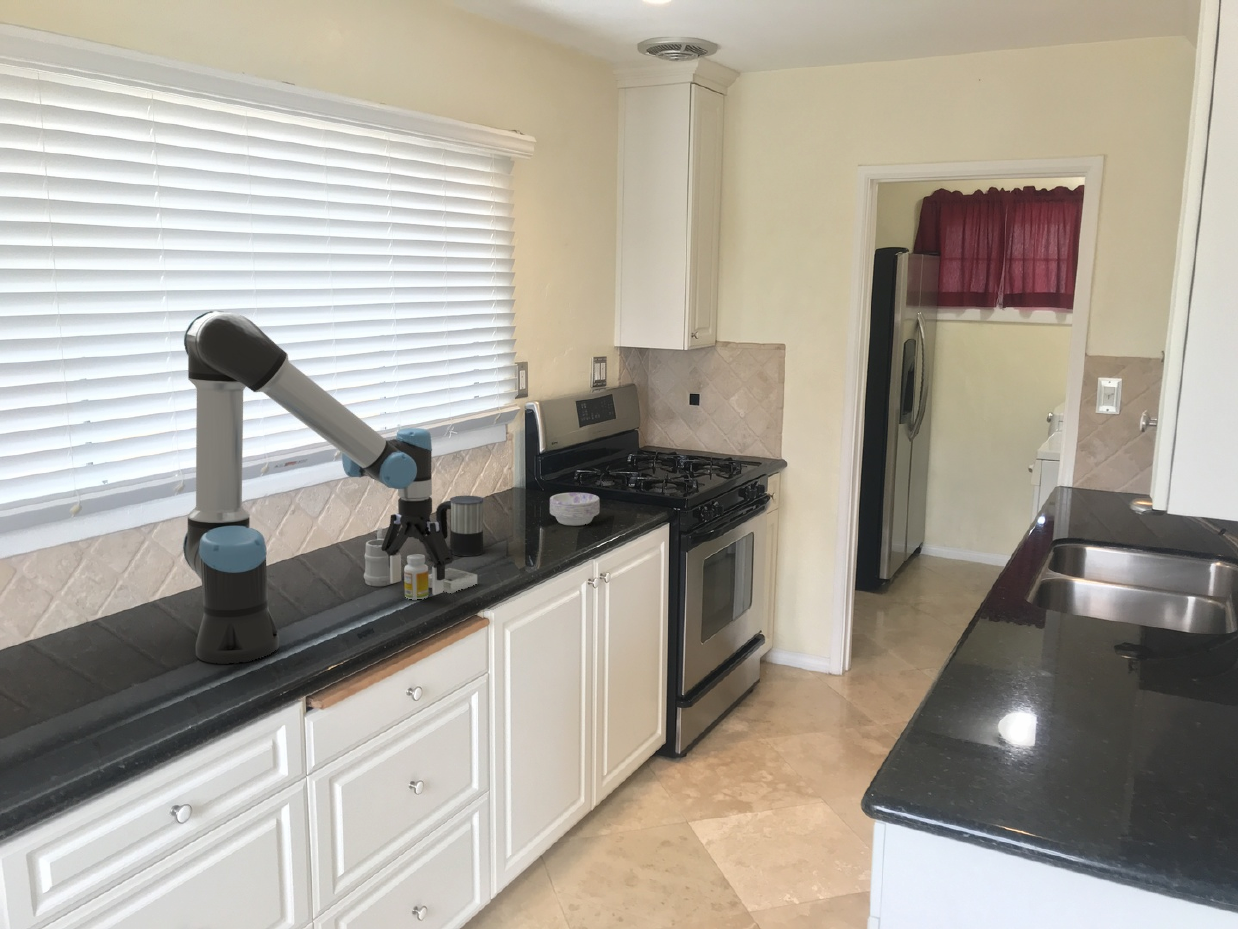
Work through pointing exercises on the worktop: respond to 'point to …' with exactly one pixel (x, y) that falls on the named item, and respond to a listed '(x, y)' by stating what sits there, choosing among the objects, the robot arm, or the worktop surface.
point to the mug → (376, 562)
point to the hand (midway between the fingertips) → (416, 587)
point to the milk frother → (463, 524)
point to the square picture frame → (455, 580)
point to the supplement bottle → (416, 577)
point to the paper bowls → (574, 508)
